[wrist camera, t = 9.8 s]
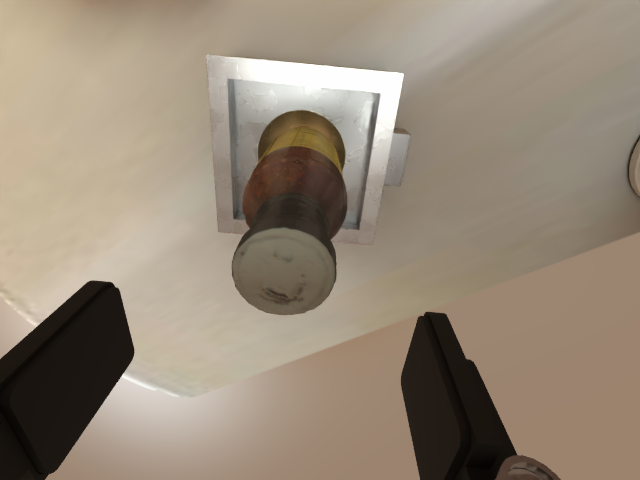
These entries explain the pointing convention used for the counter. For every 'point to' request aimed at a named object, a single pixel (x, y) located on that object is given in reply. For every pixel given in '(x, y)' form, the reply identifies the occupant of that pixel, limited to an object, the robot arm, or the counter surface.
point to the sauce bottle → (291, 224)
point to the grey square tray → (311, 111)
